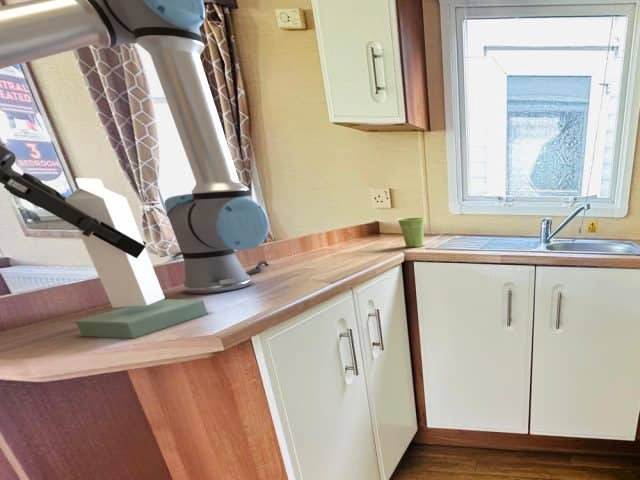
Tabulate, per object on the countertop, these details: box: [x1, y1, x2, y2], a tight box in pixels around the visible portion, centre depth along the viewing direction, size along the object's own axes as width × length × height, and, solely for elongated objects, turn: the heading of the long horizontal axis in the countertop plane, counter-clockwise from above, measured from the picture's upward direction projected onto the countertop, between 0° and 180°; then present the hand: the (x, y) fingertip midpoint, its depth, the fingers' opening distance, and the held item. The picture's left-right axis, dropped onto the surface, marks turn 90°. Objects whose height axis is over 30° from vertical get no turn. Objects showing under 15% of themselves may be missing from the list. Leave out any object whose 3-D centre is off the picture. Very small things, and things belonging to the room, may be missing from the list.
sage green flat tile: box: [74, 298, 208, 339], centre depth 84 cm, size 16×12×3 cm
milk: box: [65, 177, 166, 309], centre depth 78 cm, size 6×6×22 cm
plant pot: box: [396, 217, 427, 248], centre depth 180 cm, size 12×12×11 cm
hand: (141, 250), depth 80 cm, fingers closed on milk, 8 cm apart
